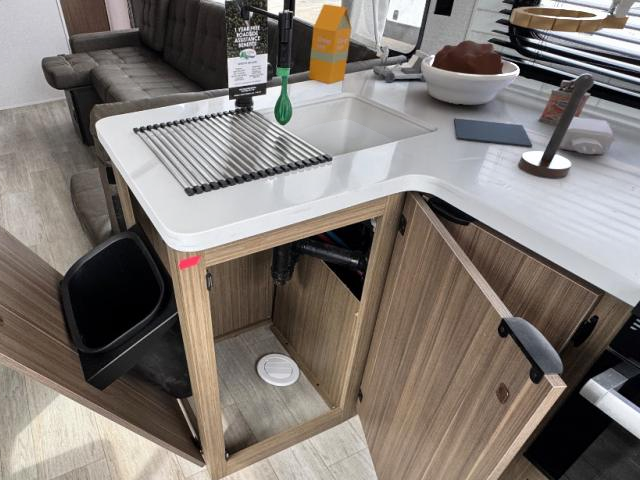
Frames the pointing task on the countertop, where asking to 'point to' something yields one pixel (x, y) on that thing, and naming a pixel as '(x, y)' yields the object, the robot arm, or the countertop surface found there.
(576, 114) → the lighter
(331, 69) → the orange juice
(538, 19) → the ring
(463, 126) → the mat
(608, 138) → the charger
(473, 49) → the white bowl of dough
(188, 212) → the countertop surface
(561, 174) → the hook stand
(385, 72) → the toy car
